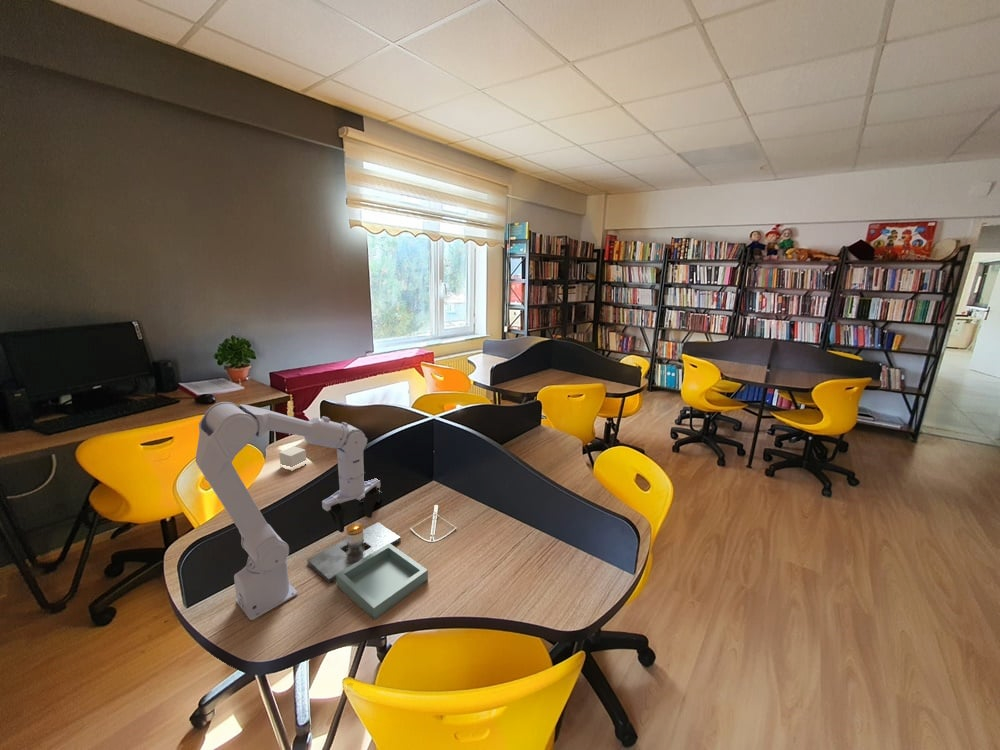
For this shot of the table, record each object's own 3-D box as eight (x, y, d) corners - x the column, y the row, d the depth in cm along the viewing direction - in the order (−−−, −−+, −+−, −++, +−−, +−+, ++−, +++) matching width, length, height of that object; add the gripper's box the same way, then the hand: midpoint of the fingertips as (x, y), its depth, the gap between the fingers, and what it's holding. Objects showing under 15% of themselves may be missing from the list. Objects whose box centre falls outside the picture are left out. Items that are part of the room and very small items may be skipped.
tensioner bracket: (329, 583, 92) (328, 579, 92) (307, 563, 98) (307, 559, 98) (400, 541, 107) (400, 537, 107) (378, 525, 113) (377, 522, 113)
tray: (374, 620, 83) (373, 608, 82) (336, 585, 91) (335, 574, 91) (427, 580, 94) (427, 569, 93) (389, 553, 102) (389, 543, 102)
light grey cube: (292, 471, 141) (290, 456, 140) (280, 467, 144) (279, 452, 142) (306, 464, 147) (305, 449, 145) (295, 461, 149) (294, 446, 148)
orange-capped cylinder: (353, 559, 100) (351, 534, 98) (344, 552, 102) (342, 528, 101) (367, 551, 103) (366, 527, 101) (358, 544, 105) (357, 521, 104)
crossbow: (455, 546, 108) (455, 539, 108) (407, 547, 107) (407, 540, 106) (457, 508, 123) (457, 503, 123) (415, 509, 122) (415, 503, 122)
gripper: (331, 491, 89) (336, 544, 93) (386, 468, 100) (388, 516, 104) (315, 480, 94) (320, 531, 97) (370, 459, 105) (372, 506, 108)
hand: (354, 523), depth 101 cm, fingers open, 7 cm apart
